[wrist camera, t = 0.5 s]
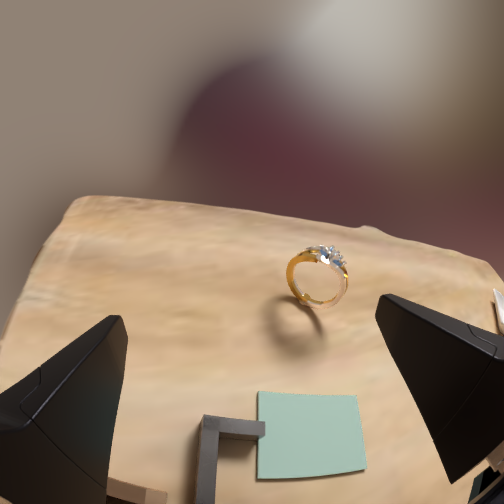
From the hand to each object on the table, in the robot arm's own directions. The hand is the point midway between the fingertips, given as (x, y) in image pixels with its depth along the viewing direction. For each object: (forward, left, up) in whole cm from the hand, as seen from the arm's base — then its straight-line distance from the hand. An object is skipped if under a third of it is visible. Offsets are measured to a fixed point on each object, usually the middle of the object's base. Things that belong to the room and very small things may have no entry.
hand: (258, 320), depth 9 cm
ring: (+16, -10, -15) cm, 24 cm away
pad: (0, -9, -15) cm, 18 cm away
